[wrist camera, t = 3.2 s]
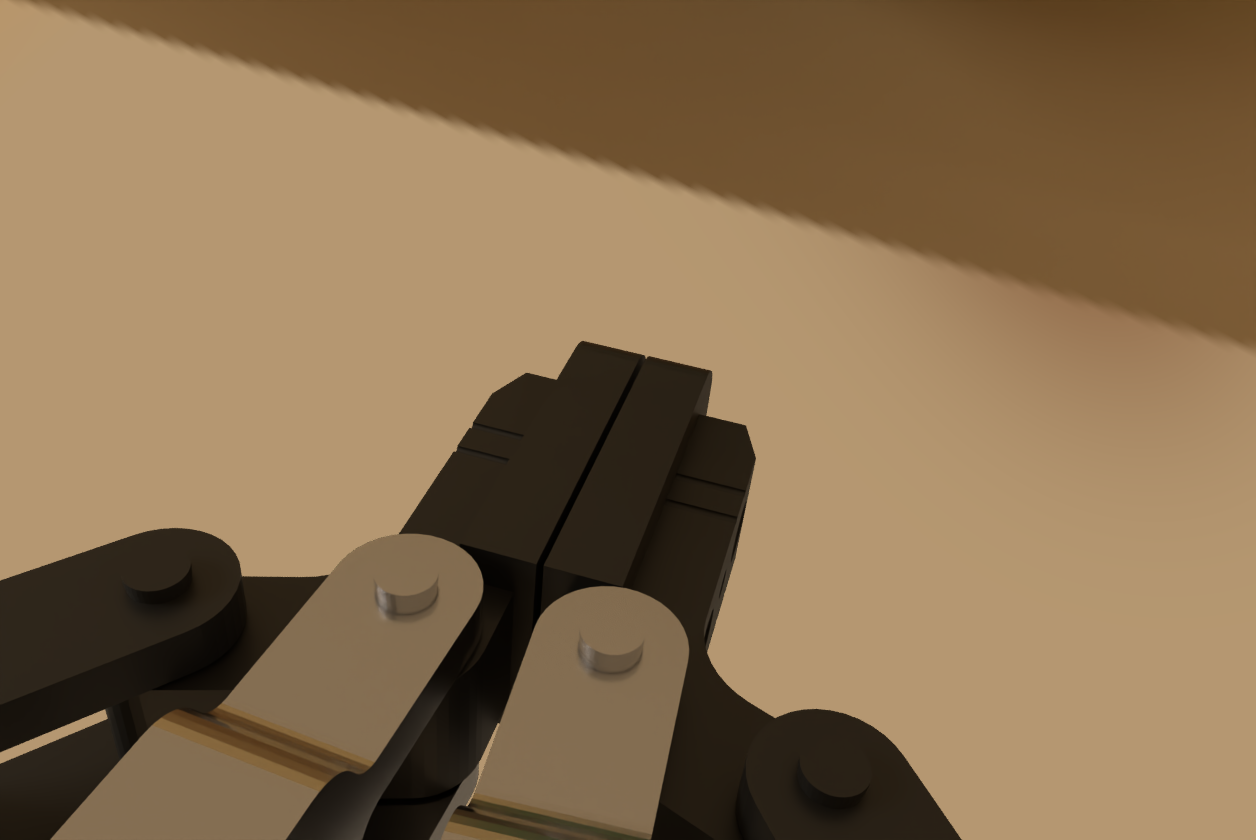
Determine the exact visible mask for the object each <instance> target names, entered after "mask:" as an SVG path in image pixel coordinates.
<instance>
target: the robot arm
mask: <svg viewBox="0 0 1256 840" xmlns="http://www.w3.org/2000/svg"><path fill="white" fill-rule="evenodd" d="M711 383H712V371H710V370H705V369H701V368H697V367H693V366H688V365H684V364H680V363H675V362H672V361H667V360H663V359H659V358H655V357H650V356H649V357H647V359H646V358H645V356H644V355H641V354H637V353H632V352H628V351H623V350H620V349H615V348H611V347H607V346H603V345H598V344H594V343H589V342H585V341H581V342H580V343H579V344H578V345H577V347H576V348H575V350H574V352H573V353H572V355H571V357H570V358H569V360H568V362H567V363H566V365H565V367H564V369H563V370H562V372H561V373H560V375H559V377H558V379H557V380H555V379H550V378H546V377H542V376H538V375H534V374H530V373H525V374H524V375H522V376H520V377H519V378H517V379H515V380H514V381H512V382H510V383H509V384H507V385H506V386H504V387H502V388H501V389H499V390H497V391H496V392H494V393H492V395H491V396H490V398H489V399H488V401H487V402H486V404H485V405H484V407H483V408H482V410H481V411H480V413H479V414H478V416H477V417H476V419H475V420H474V422H473V426H472V428H469V429H468V431H467V432H466V434H465V436H464V437H463V439H462V440H461V441H460V443H459V444H458V447H457V451H456V452H453V453H452V455H451V457H450V458H449V459H448V461H447V462H446V464H445V466H444V467H443V468H442V470H441V471H440V473H439V474H438V476H437V477H436V479H435V480H434V482H433V484H432V485H431V486H430V488H429V489H428V491H427V492H426V494H425V495H424V497H423V499H422V500H421V502H420V503H419V504H418V506H417V508H416V509H415V511H414V512H413V514H412V515H411V517H410V518H409V520H408V521H407V523H406V524H405V526H404V527H403V529H402V530H401V532H400V533H399V534H398V535H391V536H387V537H382V538H378V539H376V540H373V541H370V542H368V543H366V544H364V545H362V546H360V547H358V548H356V549H355V550H353V551H352V552H351V553H349V554H348V555H347V556H346V557H345V558H344V559H343V560H342V561H341V562H340V563H339V564H338V565H337V566H336V568H335V569H334V570H333V571H332V572H331V574H330V575H325V576H318V577H244V576H243V577H242V575H241V568H240V563H239V560H238V558H237V556H236V554H235V553H234V551H233V550H232V549H231V548H230V546H229V545H227V544H226V543H225V542H224V541H222V540H221V539H219V538H217V537H215V536H213V535H211V534H208V533H205V532H202V531H197V530H192V529H182V528H169V529H158V530H152V531H147V532H143V533H140V534H136V535H133V536H130V537H127V538H124V539H121V540H118V541H115V542H112V543H109V544H107V545H103V546H100V547H97V548H95V549H92V550H89V551H86V552H83V553H80V554H77V555H74V556H72V557H68V558H65V559H62V560H59V561H56V562H54V563H51V564H48V565H45V566H42V567H39V568H36V569H33V570H30V571H27V572H24V573H21V574H19V575H15V576H12V577H10V578H7V579H4V580H1V581H0V752H2V751H4V750H7V749H9V748H12V747H14V746H17V745H19V744H21V743H24V742H26V741H29V740H31V739H34V738H36V737H38V736H40V735H43V734H45V733H48V732H51V731H53V730H55V729H58V728H60V727H62V726H65V725H67V724H70V723H72V722H75V721H77V720H80V719H82V718H84V717H87V716H89V715H92V714H94V713H97V712H99V711H101V710H104V709H105V710H106V714H107V717H108V719H107V720H104V721H102V722H100V723H97V724H95V725H92V726H90V727H87V728H85V729H83V730H80V731H78V732H75V733H73V734H71V735H68V736H66V737H63V738H61V739H59V740H56V741H54V742H52V743H49V744H47V745H44V746H42V747H39V748H37V749H35V750H32V751H30V752H27V753H25V754H23V755H20V756H18V757H16V758H13V759H11V760H9V761H6V762H4V763H1V764H0V840H961V838H960V837H959V835H958V834H957V833H956V831H955V829H954V828H953V827H952V825H951V824H950V822H949V821H948V819H947V818H946V816H945V815H944V814H943V812H942V811H941V809H940V808H939V806H938V805H937V803H936V802H935V801H934V799H933V798H932V796H931V795H930V793H929V792H928V790H927V789H926V788H925V786H924V785H923V783H922V782H921V780H920V779H919V777H918V776H917V774H916V773H915V772H914V770H913V769H912V767H911V766H910V765H909V763H908V761H907V760H906V759H905V757H904V756H903V755H902V753H901V752H900V751H899V750H898V748H897V747H896V746H895V745H894V744H893V743H892V742H891V741H890V740H889V739H888V738H887V737H886V736H885V735H884V734H882V733H881V732H879V731H878V730H877V729H875V728H874V727H872V726H871V725H869V724H867V723H865V722H863V721H861V720H860V719H857V718H855V717H852V716H849V715H847V714H844V713H839V712H835V711H831V710H821V709H807V710H799V711H794V712H790V713H787V714H784V715H782V716H779V717H777V718H774V717H772V716H771V715H769V714H767V713H765V712H764V711H762V710H761V709H759V708H757V707H756V706H754V705H752V704H751V703H749V702H748V701H746V700H745V699H743V698H742V697H741V696H739V695H738V694H737V693H736V692H734V691H733V690H732V689H731V688H730V687H729V686H728V685H727V684H726V683H725V682H724V681H723V679H722V678H721V677H720V676H719V675H718V673H717V672H716V670H715V668H714V667H713V665H712V664H711V661H710V659H709V657H708V654H707V650H708V647H709V644H710V640H711V637H712V634H713V631H714V627H715V623H716V620H717V617H718V614H719V611H720V607H721V604H722V600H723V597H724V593H725V590H726V587H727V584H728V580H729V577H730V574H731V570H732V567H733V563H734V560H735V556H736V551H737V546H738V542H739V537H740V532H741V527H742V523H743V518H744V513H745V508H746V503H747V498H748V494H749V489H750V484H751V479H752V474H753V470H754V465H755V460H756V457H755V454H754V451H753V447H752V444H751V441H750V437H749V434H748V431H747V428H746V426H745V425H742V424H738V423H733V422H729V421H725V420H721V419H717V418H713V417H709V416H706V413H707V408H708V402H709V396H710V389H711ZM497 723H499V724H500V725H499V727H498V730H497V733H496V736H495V738H494V741H493V744H492V747H491V749H490V752H489V755H488V758H487V761H486V764H485V766H484V769H483V772H482V774H481V777H480V780H479V783H478V785H477V788H476V791H475V793H474V796H473V798H472V800H471V802H470V804H469V805H468V806H466V804H467V803H468V801H469V799H470V797H471V795H472V793H473V791H474V789H475V787H476V784H477V780H478V775H479V761H480V760H481V758H482V755H483V753H484V751H485V749H486V747H487V745H488V743H489V741H490V738H491V736H492V734H493V732H494V730H495V728H496V725H497Z"/></svg>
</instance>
